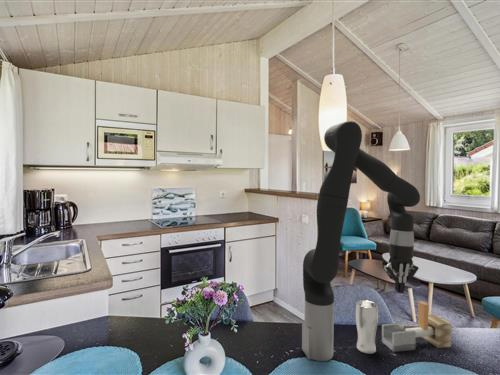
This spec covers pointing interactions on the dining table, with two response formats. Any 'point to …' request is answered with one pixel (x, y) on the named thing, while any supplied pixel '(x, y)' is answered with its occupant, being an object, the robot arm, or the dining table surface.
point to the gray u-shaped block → (398, 337)
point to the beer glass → (366, 325)
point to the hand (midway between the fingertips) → (399, 292)
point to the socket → (439, 332)
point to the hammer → (423, 322)
